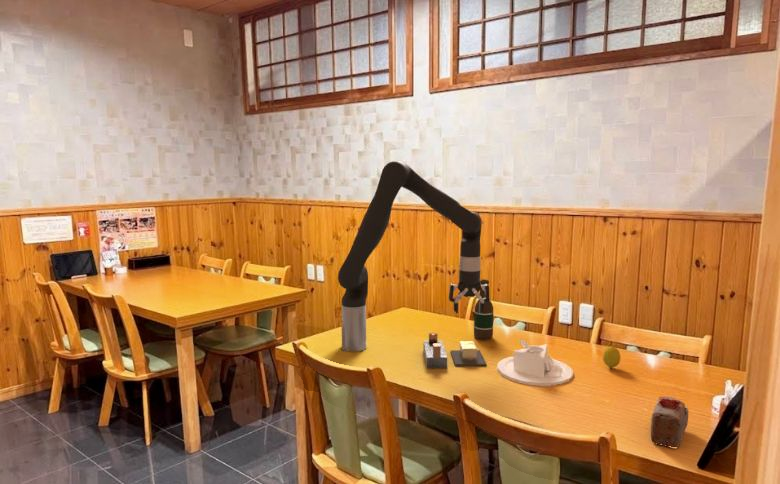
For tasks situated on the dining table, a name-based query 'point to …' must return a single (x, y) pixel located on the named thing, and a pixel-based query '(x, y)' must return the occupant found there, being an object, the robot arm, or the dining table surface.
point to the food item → (668, 421)
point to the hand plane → (435, 353)
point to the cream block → (468, 351)
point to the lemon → (611, 357)
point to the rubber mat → (459, 362)
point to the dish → (534, 367)
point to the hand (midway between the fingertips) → (468, 312)
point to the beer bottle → (483, 318)
